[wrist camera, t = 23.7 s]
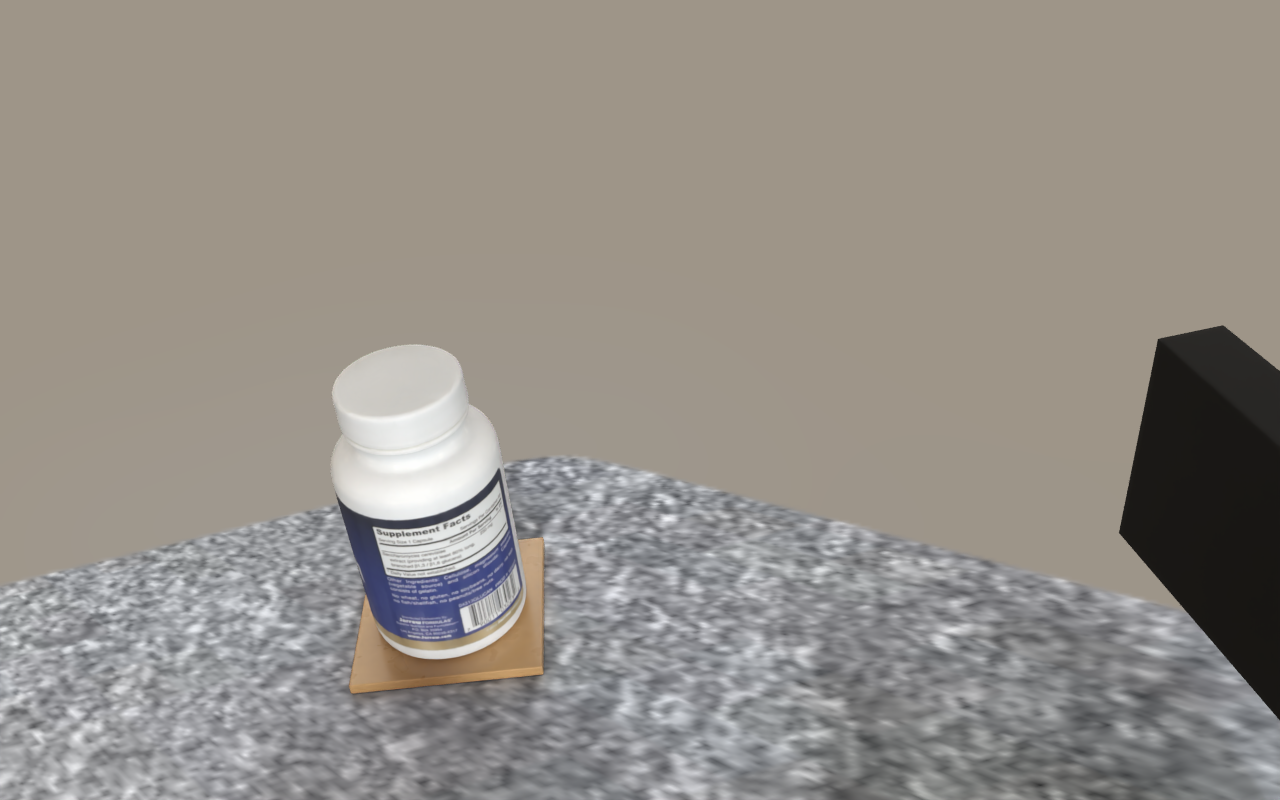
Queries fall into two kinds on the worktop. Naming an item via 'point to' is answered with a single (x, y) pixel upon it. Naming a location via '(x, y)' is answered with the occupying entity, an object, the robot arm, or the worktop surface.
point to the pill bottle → (425, 503)
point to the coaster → (501, 659)
